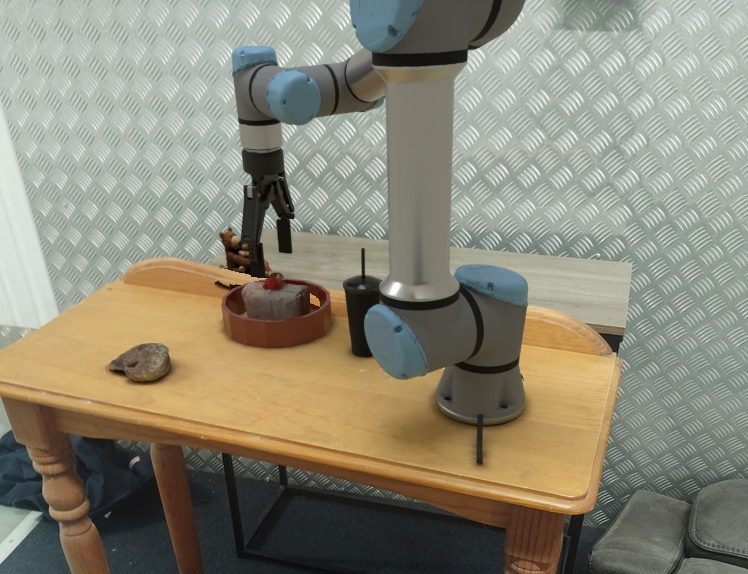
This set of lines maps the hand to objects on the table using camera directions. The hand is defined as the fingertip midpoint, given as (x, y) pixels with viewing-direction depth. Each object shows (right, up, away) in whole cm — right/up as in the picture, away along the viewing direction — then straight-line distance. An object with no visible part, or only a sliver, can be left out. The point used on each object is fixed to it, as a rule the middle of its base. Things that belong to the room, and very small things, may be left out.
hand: (272, 264), depth 142 cm
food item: (0, -10, +8) cm, 13 cm away
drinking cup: (+18, -18, -2) cm, 26 cm away
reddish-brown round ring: (0, -10, +8) cm, 13 cm away
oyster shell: (-24, -23, -8) cm, 34 cm away
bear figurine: (-9, +5, +26) cm, 28 cm away
